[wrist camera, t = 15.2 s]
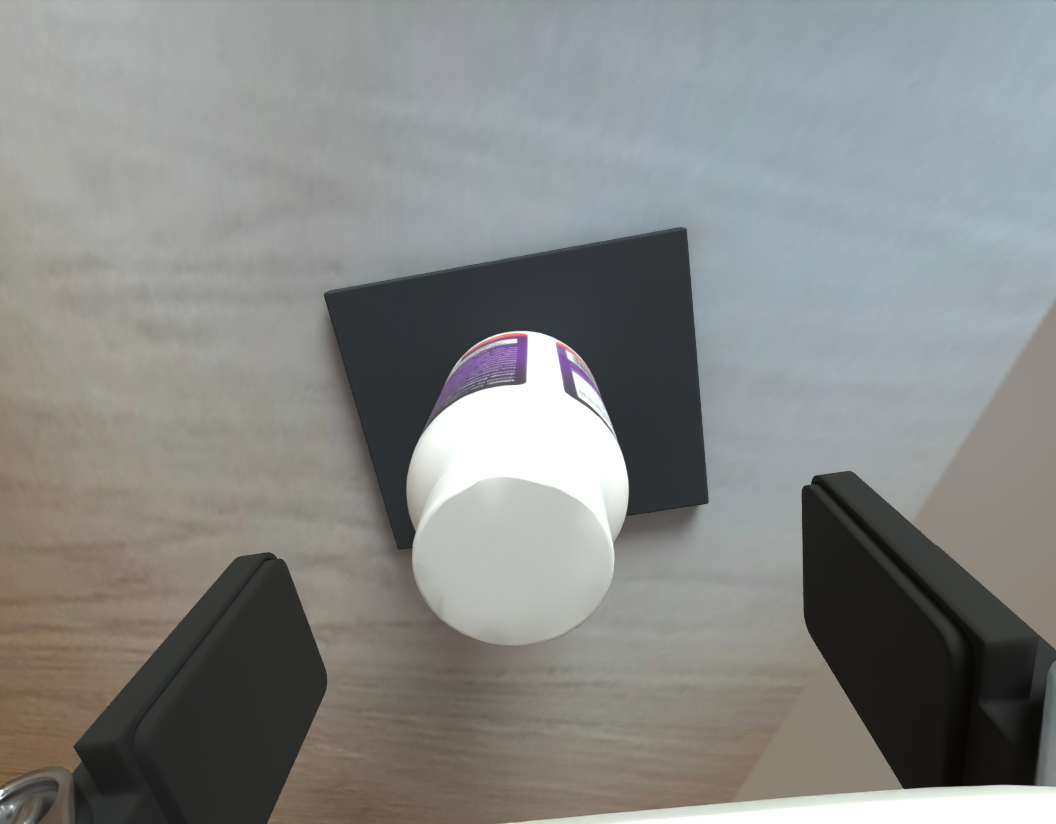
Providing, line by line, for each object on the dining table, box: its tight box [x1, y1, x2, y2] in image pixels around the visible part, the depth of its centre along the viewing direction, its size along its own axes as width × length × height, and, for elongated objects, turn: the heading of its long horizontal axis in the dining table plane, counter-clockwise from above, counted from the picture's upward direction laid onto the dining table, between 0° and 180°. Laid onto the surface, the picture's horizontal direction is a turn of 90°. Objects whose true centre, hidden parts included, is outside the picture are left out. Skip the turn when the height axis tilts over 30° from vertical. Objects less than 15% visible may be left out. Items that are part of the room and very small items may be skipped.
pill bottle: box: [406, 331, 629, 646], centre depth 16 cm, size 5×5×10 cm
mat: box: [324, 227, 709, 550], centre depth 21 cm, size 12×10×1 cm
